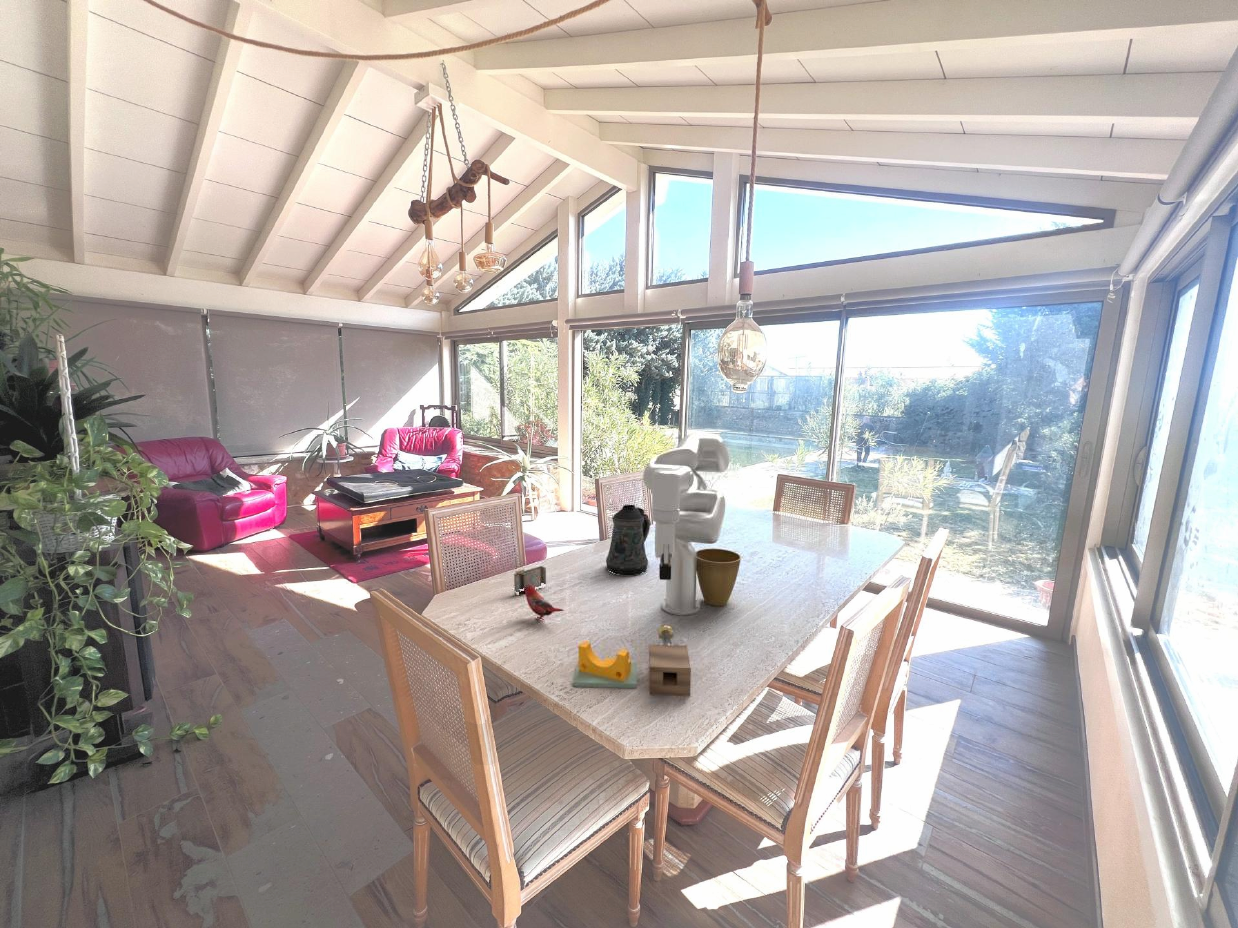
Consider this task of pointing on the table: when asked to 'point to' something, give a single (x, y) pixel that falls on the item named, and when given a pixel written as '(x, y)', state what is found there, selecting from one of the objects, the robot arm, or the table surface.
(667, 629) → the shaft
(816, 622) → the table surface
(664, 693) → the shaft housing
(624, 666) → the pipe clamp
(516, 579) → the grey upright flat frame
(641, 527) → the beer stein
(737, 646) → the table surface
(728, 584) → the plant pot
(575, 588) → the table surface
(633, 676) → the plate
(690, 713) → the table surface
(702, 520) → the robot arm
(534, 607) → the decorative bird figurine
